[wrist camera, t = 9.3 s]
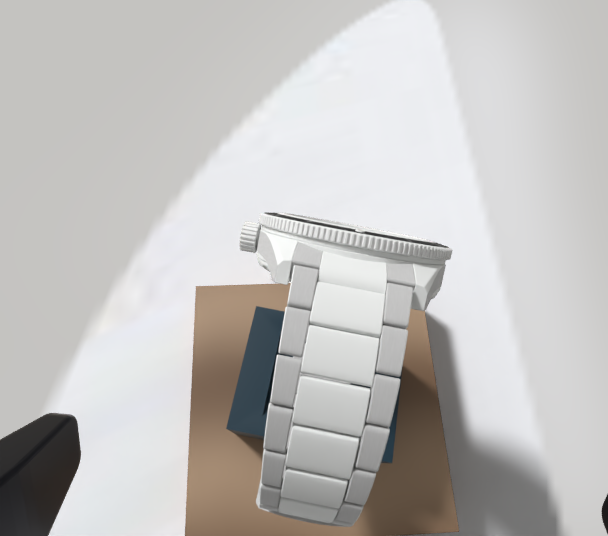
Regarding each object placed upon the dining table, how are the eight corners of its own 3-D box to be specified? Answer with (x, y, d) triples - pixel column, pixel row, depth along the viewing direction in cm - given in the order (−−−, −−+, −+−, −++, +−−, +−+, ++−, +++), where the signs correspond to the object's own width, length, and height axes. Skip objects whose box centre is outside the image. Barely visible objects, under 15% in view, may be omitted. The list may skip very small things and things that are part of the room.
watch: (393, 310, 20) (500, 157, 10) (369, 514, 17) (488, 588, 7) (268, 286, 20) (250, 113, 10) (221, 482, 17) (130, 510, 7)
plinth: (438, 523, 19) (459, 531, 17) (196, 538, 19) (184, 548, 16) (406, 297, 23) (419, 279, 21) (205, 304, 23) (196, 286, 20)
